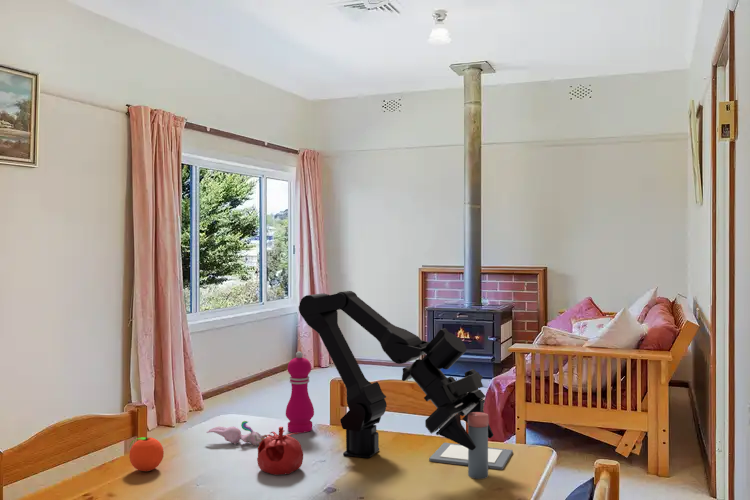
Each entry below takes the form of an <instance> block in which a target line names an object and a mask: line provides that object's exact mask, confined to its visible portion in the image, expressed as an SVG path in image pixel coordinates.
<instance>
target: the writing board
mask: <svg viewBox="0 0 750 500" xmlns="http://www.w3.org/2000/svg"><path fill="white" fill-rule="evenodd" d="M512 455H513V449H507V448H500V447H489V446H488V469H495V470H502V471H503V469H504V468H505V466H506V465H507V463H508V461H509V459H510V458H511V456H512ZM428 460H429V461H428V462H434V463H435V462H436V463H442V464H451V465H459V466H467V467H468V448H466V447H464V446H462V445H460V444H458V443H451V442H443V443H442V444H441V445H440V447H438V449H436V450H435V452H433V454H432V455H431V456H430V457H429V459H428Z"/></svg>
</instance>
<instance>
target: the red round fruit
mask: <svg viewBox="0 0 750 500" xmlns="http://www.w3.org/2000/svg"><path fill="white" fill-rule="evenodd" d="M284 432H285V430H284V426H279V427H278V434H277V432H276V431H271V432H270V434H264V435H265V436H267V437H265V438H264V439H263V440H262V441H261V443H260V444H259V446H258V447H257V460H256V461H257V466H258V468H259V469H260V471H262V472H264V473H267V474H269V475H275V476H279V475H289V474H292V473H293V472H295V471H297V470H298V469H300V468H301V466H302V465H303V463H304V461H303V460H304V451H303V448H302V445H301V443H300V442H299V440H297V439H296V438H294V437H293V436H292V435H299V433H293V432H291V433H287V434H284ZM272 434H273V435H272ZM262 437H263V436H262Z"/></svg>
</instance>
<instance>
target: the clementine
mask: <svg viewBox="0 0 750 500" xmlns="http://www.w3.org/2000/svg"><path fill="white" fill-rule="evenodd" d="M135 440H136V441H135ZM134 441H135V442H134ZM133 442H134V443H133ZM131 445H132V446H131ZM129 449H130V450H129V462H130V464H131V466H132V467H134V469H135V470H138V471H140V472H151V471H153V470H155V469H156V468H158V466H159V465H160V464H161V463H162V462H163V459H164V446H163V445H162V443H161V442H160V441H159V440H158V439H156V438H154V437H152V436H151V437H150V436H149V437H148V436H146V437H145V436H142V437H137V438H135V439H133V440H132V441H131V442H130V445H129Z"/></svg>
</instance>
